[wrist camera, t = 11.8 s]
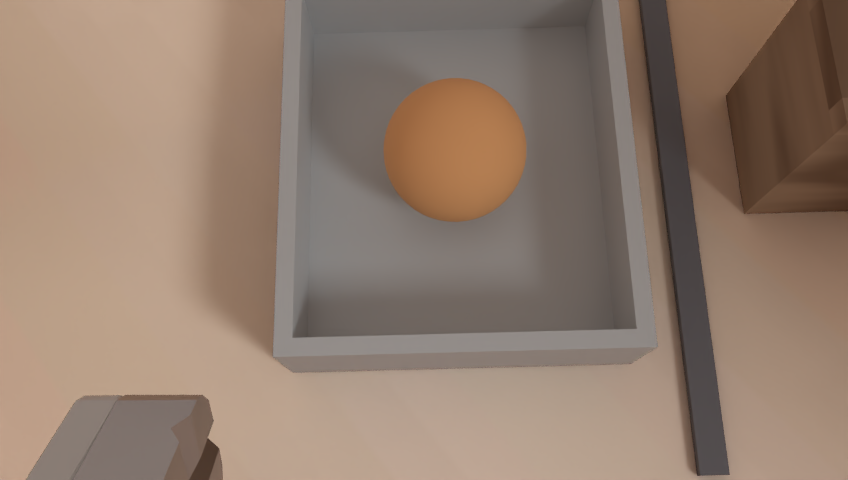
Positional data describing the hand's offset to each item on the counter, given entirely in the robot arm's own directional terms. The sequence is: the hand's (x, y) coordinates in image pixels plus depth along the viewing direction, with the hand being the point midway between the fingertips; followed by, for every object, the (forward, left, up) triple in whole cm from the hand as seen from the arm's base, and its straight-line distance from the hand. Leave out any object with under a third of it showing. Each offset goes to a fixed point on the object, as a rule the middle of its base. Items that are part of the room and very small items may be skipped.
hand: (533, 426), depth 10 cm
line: (-8, -10, -18) cm, 23 cm away
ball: (0, -10, -15) cm, 18 cm away
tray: (0, -10, -18) cm, 21 cm away
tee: (-13, -11, -18) cm, 25 cm away
